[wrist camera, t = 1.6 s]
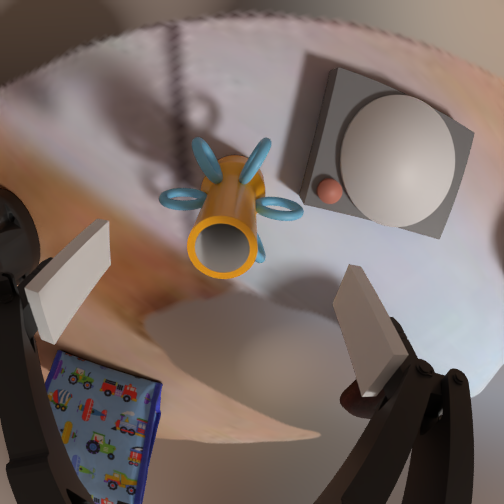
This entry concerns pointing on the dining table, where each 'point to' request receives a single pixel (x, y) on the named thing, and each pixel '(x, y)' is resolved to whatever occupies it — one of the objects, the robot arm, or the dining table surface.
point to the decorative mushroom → (359, 401)
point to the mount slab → (384, 156)
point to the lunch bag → (105, 426)
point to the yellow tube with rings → (228, 211)
